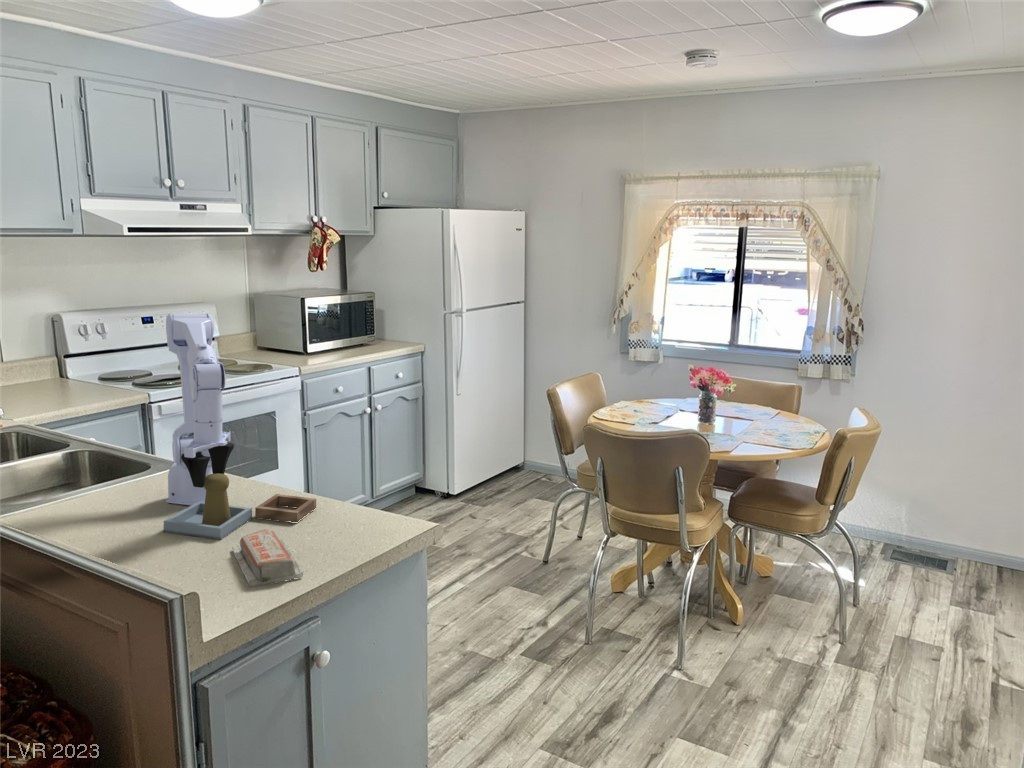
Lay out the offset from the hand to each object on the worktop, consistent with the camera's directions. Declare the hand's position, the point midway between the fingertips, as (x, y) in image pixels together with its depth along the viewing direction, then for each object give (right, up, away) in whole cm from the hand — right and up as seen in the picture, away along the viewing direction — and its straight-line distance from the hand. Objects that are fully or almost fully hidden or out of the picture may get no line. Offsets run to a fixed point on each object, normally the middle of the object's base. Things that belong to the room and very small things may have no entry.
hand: (208, 481), depth 169 cm
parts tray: (-1, -10, +2) cm, 10 cm away
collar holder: (+13, -9, +11) cm, 20 cm away
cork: (+1, -10, +2) cm, 10 cm away
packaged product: (+17, -15, -16) cm, 28 cm away
